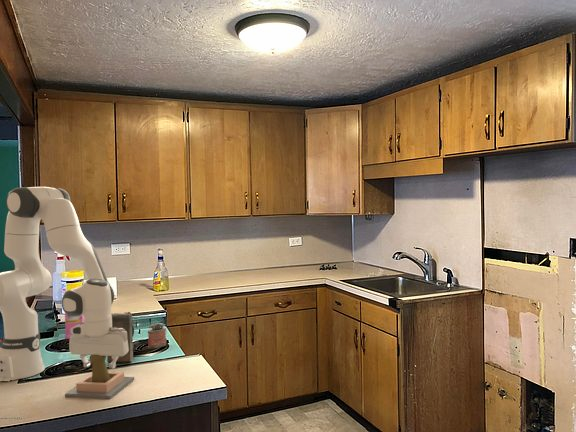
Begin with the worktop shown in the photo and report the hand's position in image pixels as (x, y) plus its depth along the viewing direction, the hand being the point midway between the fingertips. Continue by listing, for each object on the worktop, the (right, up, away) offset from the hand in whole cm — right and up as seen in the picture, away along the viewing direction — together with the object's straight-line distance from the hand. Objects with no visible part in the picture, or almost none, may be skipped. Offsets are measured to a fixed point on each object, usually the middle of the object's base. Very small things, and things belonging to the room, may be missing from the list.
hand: (99, 367), depth 159 cm
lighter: (+7, -6, +45) cm, 45 cm away
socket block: (0, -7, 0) cm, 7 cm away
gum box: (-38, -6, +71) cm, 80 cm away
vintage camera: (-2, -6, +31) cm, 32 cm away
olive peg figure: (+1, -6, 0) cm, 6 cm away
